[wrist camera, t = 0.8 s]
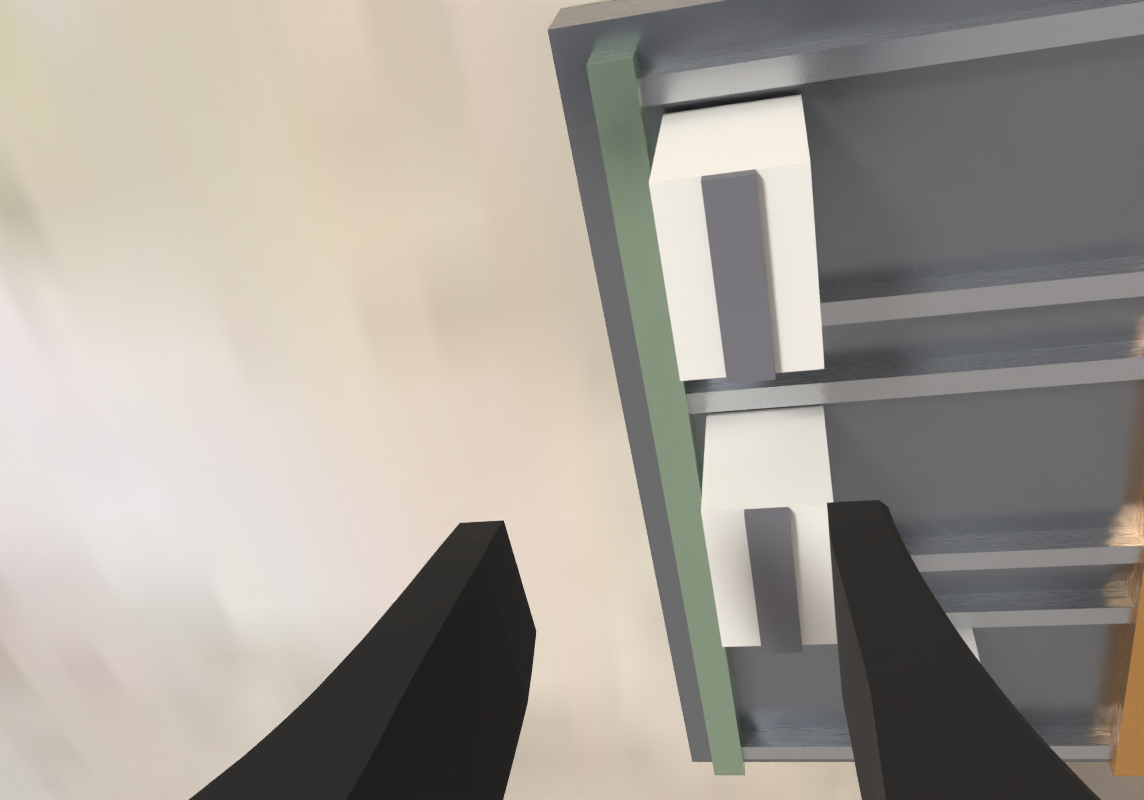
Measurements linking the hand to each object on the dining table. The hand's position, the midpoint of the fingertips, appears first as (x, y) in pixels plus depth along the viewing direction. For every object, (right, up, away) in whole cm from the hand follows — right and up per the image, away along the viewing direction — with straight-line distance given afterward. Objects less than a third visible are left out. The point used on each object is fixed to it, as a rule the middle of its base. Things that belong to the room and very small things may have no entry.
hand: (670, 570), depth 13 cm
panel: (+7, +2, +10) cm, 12 cm away
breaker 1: (+2, +6, +6) cm, 8 cm away
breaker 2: (+3, +1, +9) cm, 10 cm away
